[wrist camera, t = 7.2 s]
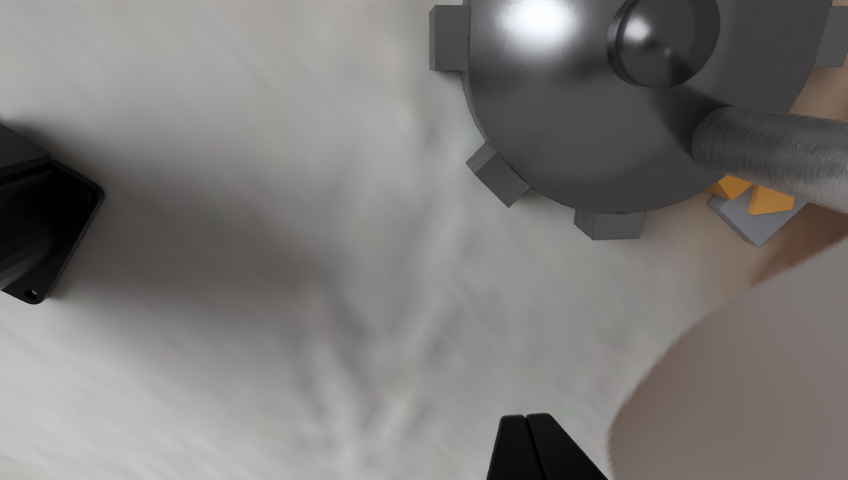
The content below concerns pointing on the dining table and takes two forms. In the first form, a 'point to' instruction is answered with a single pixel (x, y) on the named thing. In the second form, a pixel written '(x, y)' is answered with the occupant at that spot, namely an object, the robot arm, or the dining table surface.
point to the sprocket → (646, 101)
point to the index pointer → (757, 212)
